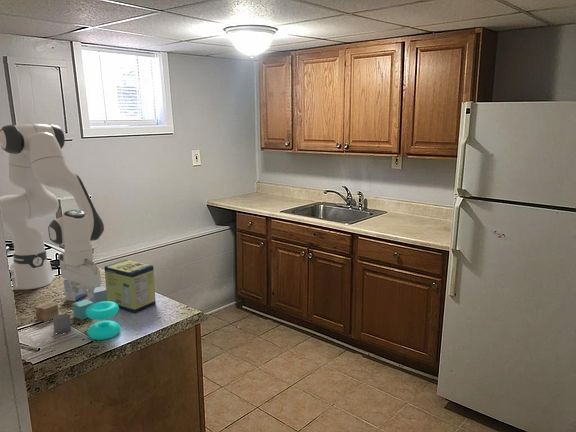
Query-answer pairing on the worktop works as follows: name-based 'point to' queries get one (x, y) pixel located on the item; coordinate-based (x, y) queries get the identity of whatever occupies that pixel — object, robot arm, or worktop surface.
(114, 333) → the donuts
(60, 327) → the charcoal cylinder
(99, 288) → the slate blue block
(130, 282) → the protein box
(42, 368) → the worktop surface
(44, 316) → the walnut block
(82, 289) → the medicine box
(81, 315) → the teal block
